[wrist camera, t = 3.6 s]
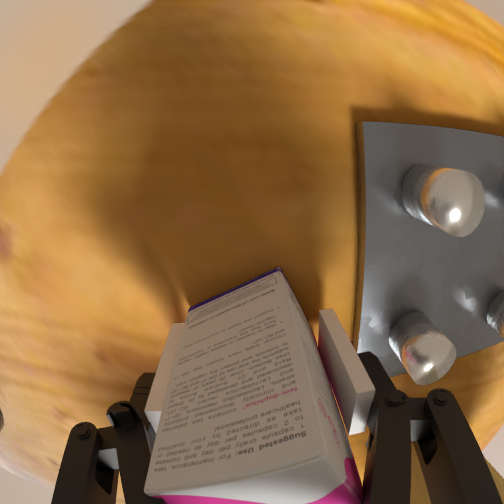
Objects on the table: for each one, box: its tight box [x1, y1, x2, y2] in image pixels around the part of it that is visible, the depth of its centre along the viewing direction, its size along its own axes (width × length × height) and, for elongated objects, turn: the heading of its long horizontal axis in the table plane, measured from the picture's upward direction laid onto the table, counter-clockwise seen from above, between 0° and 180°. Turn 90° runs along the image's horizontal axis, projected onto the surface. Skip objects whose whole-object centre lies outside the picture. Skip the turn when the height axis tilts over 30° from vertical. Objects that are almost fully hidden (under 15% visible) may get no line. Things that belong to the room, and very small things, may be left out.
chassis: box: [352, 121, 504, 385], centre depth 15 cm, size 16×16×4 cm
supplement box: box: [144, 267, 363, 504], centre depth 12 cm, size 6×6×12 cm
